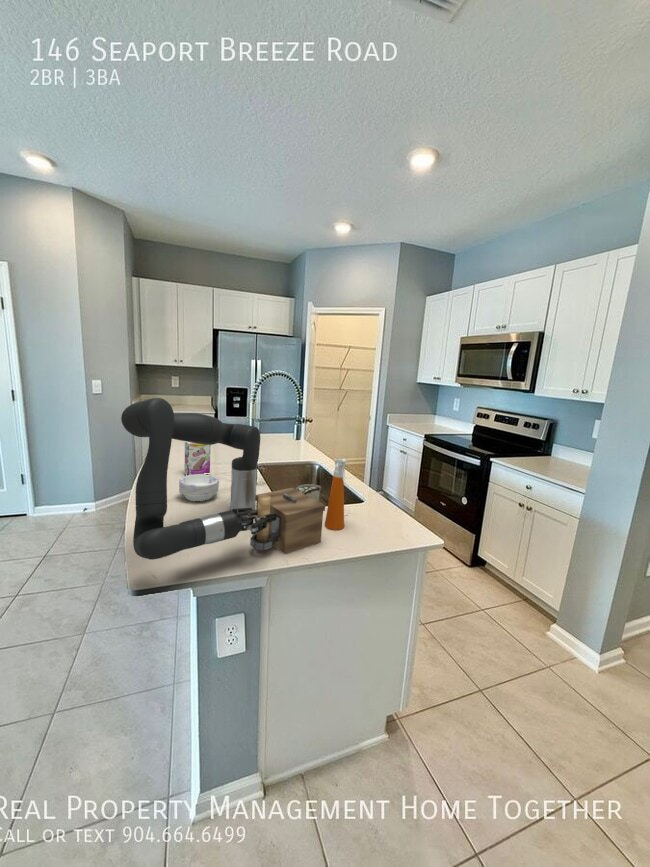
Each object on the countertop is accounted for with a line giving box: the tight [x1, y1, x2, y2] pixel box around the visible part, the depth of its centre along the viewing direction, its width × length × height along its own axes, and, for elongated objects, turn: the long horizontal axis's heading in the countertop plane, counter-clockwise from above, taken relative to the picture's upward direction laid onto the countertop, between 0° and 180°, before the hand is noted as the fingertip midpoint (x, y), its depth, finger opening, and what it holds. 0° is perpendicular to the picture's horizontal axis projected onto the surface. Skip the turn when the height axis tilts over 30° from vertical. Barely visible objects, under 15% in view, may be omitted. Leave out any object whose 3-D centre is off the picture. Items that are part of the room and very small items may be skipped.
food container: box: [295, 483, 322, 502], centre depth 138 cm, size 12×6×10 cm, turn 141°
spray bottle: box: [324, 458, 348, 531], centre depth 124 cm, size 7×11×26 cm, turn 16°
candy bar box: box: [184, 441, 212, 476], centre depth 172 cm, size 11×5×16 cm, turn 130°
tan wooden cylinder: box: [256, 495, 271, 542], centre depth 106 cm, size 4×4×16 cm
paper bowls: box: [178, 474, 220, 502], centre depth 145 cm, size 15×15×8 cm
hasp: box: [249, 515, 281, 551], centre depth 107 cm, size 7×8×8 cm
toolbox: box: [255, 487, 326, 555], centre depth 117 cm, size 19×15×14 cm
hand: (271, 513), depth 107 cm, fingers closed on tan wooden cylinder, 3 cm apart
